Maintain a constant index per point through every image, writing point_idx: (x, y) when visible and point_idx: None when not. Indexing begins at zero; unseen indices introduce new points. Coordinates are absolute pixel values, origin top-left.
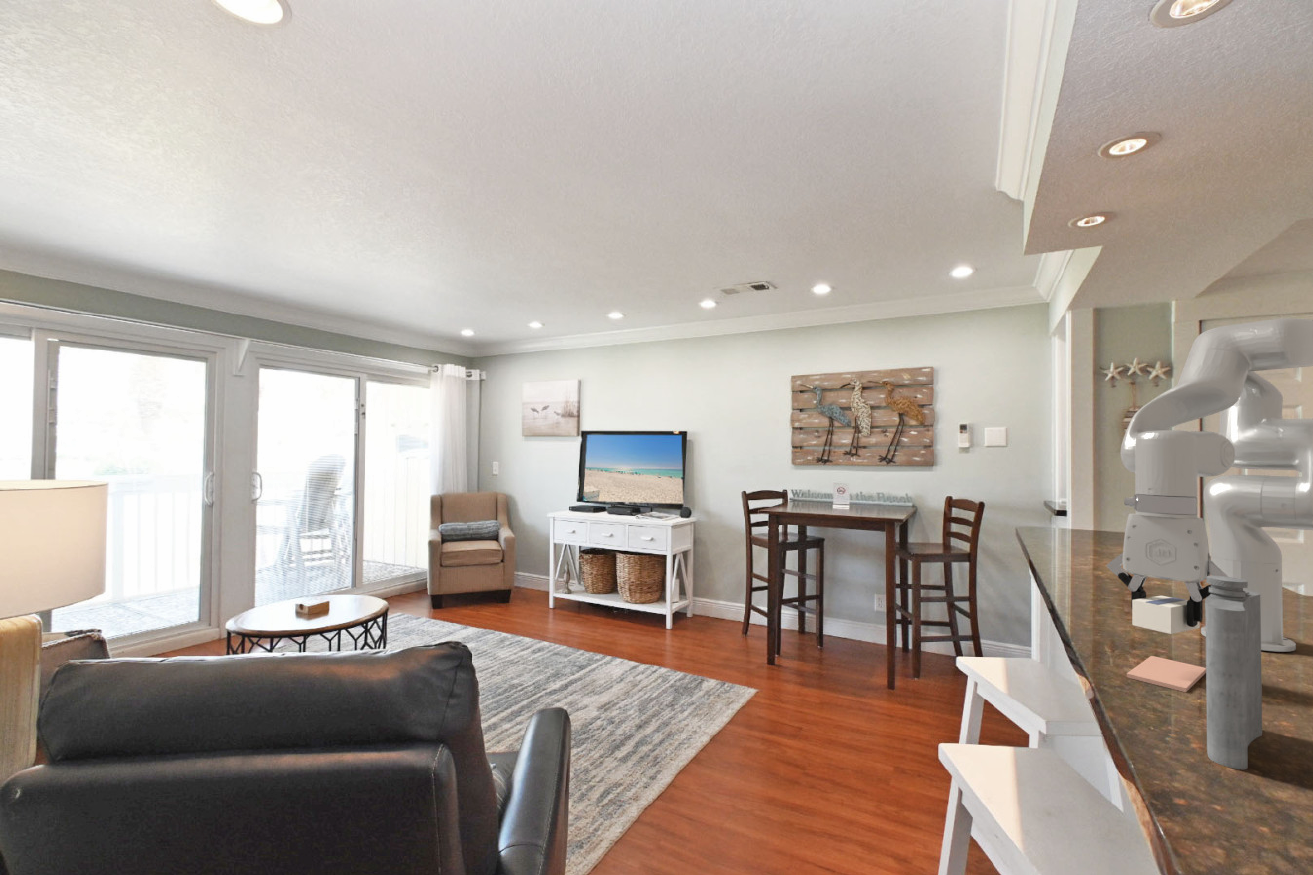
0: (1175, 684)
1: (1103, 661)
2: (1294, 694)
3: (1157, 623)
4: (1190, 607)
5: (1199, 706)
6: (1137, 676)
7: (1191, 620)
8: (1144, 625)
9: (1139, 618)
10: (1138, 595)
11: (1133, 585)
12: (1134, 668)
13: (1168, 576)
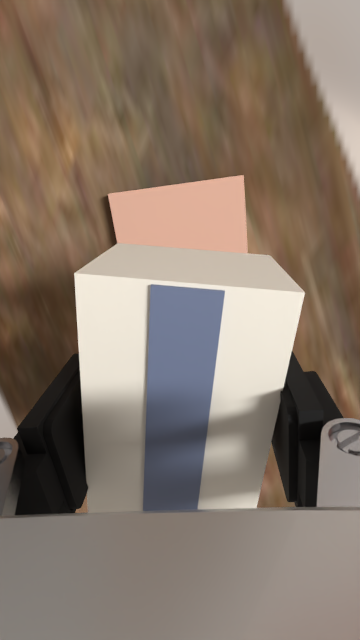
0: (133, 201)
1: (328, 274)
2: (14, 402)
3: (164, 253)
4: (46, 401)
5: (46, 95)
6: (216, 180)
7: (69, 363)
8: (220, 253)
9: (244, 260)
10: (297, 396)
11: (358, 457)
12: (245, 250)
13: (40, 535)
